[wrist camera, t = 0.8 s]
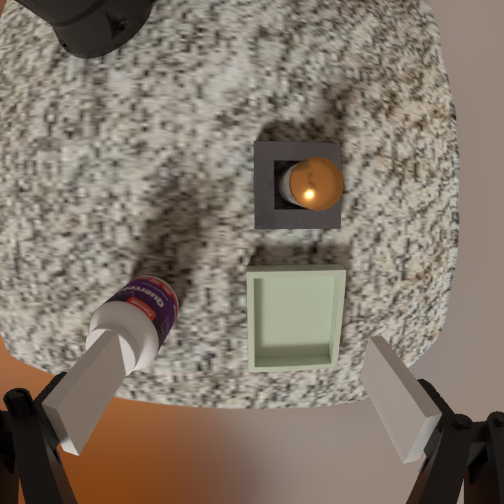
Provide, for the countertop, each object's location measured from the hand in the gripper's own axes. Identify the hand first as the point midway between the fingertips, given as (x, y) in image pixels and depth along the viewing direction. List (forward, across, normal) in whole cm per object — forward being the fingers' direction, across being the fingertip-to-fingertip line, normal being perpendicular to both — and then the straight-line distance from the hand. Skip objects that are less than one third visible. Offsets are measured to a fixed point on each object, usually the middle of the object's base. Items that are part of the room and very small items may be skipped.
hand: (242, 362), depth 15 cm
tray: (+24, +6, -8) cm, 26 cm away
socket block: (+24, +6, +9) cm, 26 cm away
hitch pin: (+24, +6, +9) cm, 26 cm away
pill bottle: (+24, -13, -7) cm, 28 cm away
